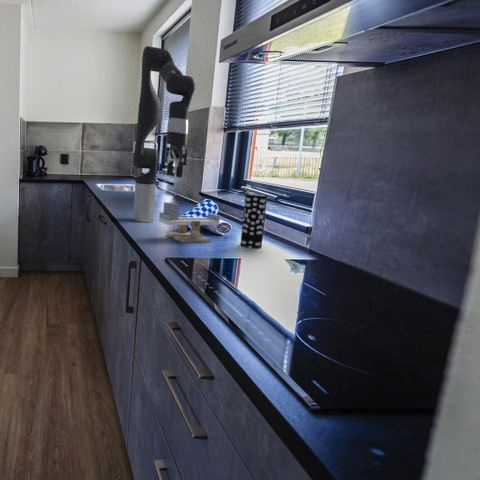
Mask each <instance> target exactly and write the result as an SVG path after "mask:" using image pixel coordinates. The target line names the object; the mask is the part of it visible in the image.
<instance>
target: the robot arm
mask: <svg viewBox="0 0 480 480" xmlns="http://www.w3.org/2000/svg"><path fill="white" fill-rule="evenodd" d="M152 72H156V73H160V76H161V78H162V80H163V81H164V83H165V89H166V91H167V92H168V93H169V94H172V95H177V96H182V99H181V100H180V101H179V100H178V101H171V102H170V103H169V107H168V122H167V126H166V127H167V128H166V129H167V130H166V144H167V145H169V146H166V147H165V156H164V163H165V164H166V165H167V166H166V167H167V168H166V175H168V176H173V174H174V164H176V169H175V170H176V171H175V177H176V178H182V177H183V172H184V171H183V170H184V169H183V168H184V167H185V166H187V157H188V149H187V148H184V147H185V146H188V145H187V144H188V135H189V134H188V133H189V131H188V130H189V110H190V105H191V104H192V103H191V102H192V99H193V96H194V94H195V90H196V81H195V79H194V78H193V77H192V76H189V75H184V74H183V72H182V71H181V70H180V69H179V67H177V66H176V64H175V61H174V58H173V57H172V54H171V53H170V52H169V51H168V50H167V49H165V48H160V47H154V46H150V45H146V46H145V47H144V49H143V51H142V57H141V81H140V82H141V83H140V94H139V95H140V96H139V102H138V111H137V124H136V125H137V126H136V127H137V128H136V136H135V141H134V142H135V144H134V150H133V157H132V163H133V167H135V168H137V169H146V170H148V171H147V172H146V173H144V174H140V175H138V176H136V177H135V180H134V181H135V182H134V185H135V186H134V200H133V201H134V202H133V203H134V204H133V218H132V219H133V221H134V222H140V223H141V222H142V223H151V222H154V221H155V220H154V219H155V218H154V216H155V205H156V203H155V202H156V190H157V189H156V186H157V177H158V176H157V174H158V173H157V172H158V164H159V152H158V149H156V148H150V147H143V146H144V143H145V142H146V140H147V138H148V137H149V135H150V134H151V132H152V131H153V130H154V129H155V128H156V127H157V125H158V124H159V122H160V117H161V109H162V105H161V101H160V99H159V96H158V94H157V92H156V89H155V88H154V85H153V82H152V74H151V73H152Z"/></svg>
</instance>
